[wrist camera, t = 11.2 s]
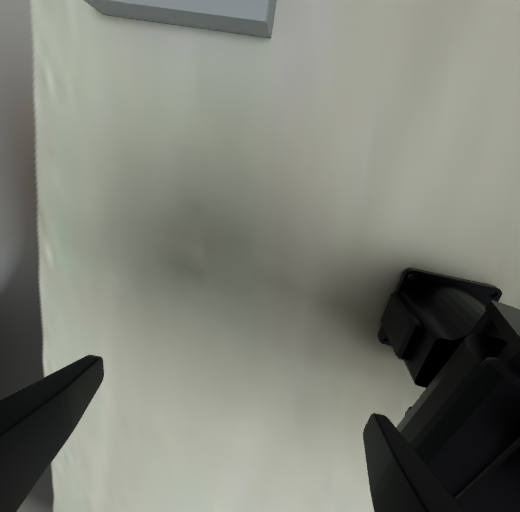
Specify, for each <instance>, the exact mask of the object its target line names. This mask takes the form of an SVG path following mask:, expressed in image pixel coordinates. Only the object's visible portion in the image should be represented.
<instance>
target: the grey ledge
mask: <svg viewBox="0 0 520 512" xmlns="http://www.w3.org/2000/svg"><path fill="white" fill-rule="evenodd" d="M84 1H85V2H87V3H88V4H90V5H91V6H92V7H94V8H95V9H96V10H98V11H99V12H101V13H102V14H104V15H111V16H118V17H125V18H132V19H140V20H147V21H154V22H161V23H168V24H175V25H182V26H189V27H197V28H204V29H211V30H218V31H225V32H232V33H239V34H246V35H254V36H261V37H268V38H271V34H272V27H273V20H274V14H275V7H276V0H84Z"/></svg>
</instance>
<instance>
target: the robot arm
mask: <svg viewBox="0 0 520 512" xmlns="http://www.w3.org/2000/svg"><path fill="white" fill-rule="evenodd" d="M410 274H414V276H413V277H411V278H408V276H409V275H410ZM493 291H494V293H493V294H492V295H489V294H490V293H491V292H493ZM501 295H502V291H501V290H500V289H498V288H497V287H495V286H492V285H488V284H483V283H478V282H474V281H469V280H464V279H459V278H455V277H450V276H445V275H441V274H436V273H431V272H427V271H422V270H417V269H412V268H409V269H406V270H405V271H404V272H403V274H402V277H401V279H400V282H399V284H398V286H397V289H396V291H395V293H393V294H391V296H390V299H389V301H388V304H387V306H386V309H385V311H384V313H383V316H382V318H381V324H382V326H381V328H380V331H379V333H378V339H379V341H380V342H381V343H382V344H386V345H390V346H392V347H393V350H394V352H395V354H396V356H397V357H398V359H401V360H404V362H405V364H406V366H407V368H408V370H409V372H410V375H411V377H412V379H413V381H414V383H415V384H416V385H418V386H422V387H425V388H426V390H425V391H424V392H423V393H422V395H421V396H420V397H419V399H418V400H417V401H416V403H415V404H414V405H413V407H409V408H408V410H407V411H406V412H405V417H404V418H403V420H402V421H401V422H400V423H399V425H398V426H397V427H395V426H394V425H393V424H392V422H391V421H390V420H389V419H388V418H387V417H386V416H384V415H380V414H376V413H373V414H371V416H370V418H369V420H368V422H367V424H366V426H365V428H364V432H363V439H364V446H365V454H366V462H367V470H368V477H369V485H370V491H371V497H372V502H373V507H374V511H375V512H520V310H519V309H516V308H514V307H511V306H508V305H505V304H502V303H499V302H498V301H499V299H500V297H501ZM384 336H387V338H383V337H384ZM103 377H104V369H103V359H102V357H99V356H94V355H88V356H85V357H83V358H81V359H80V360H78V361H76V362H74V363H72V364H70V365H68V366H66V367H64V368H62V369H60V370H58V371H56V372H54V373H52V374H50V375H48V376H47V377H45V378H43V379H41V380H39V381H37V382H35V383H33V384H31V385H29V386H27V387H25V388H23V389H21V390H19V391H18V392H15V393H14V394H12V395H10V396H8V397H6V398H4V399H2V400H0V512H16V511H17V510H18V509H19V507H20V506H21V504H22V503H23V501H24V500H25V499H26V497H27V496H28V494H29V493H30V492H31V490H32V489H33V487H34V486H35V485H36V483H37V482H38V480H39V479H40V477H41V476H42V475H43V473H44V471H45V470H46V469H47V468H48V466H49V465H50V463H51V462H52V461H53V459H54V458H55V456H56V455H57V453H58V452H59V451H60V449H61V448H62V446H63V445H64V444H65V442H66V441H67V439H68V438H69V436H70V435H71V433H72V432H73V430H74V429H75V427H76V426H77V424H78V422H79V421H80V419H81V417H82V415H83V414H84V412H85V410H86V409H87V407H88V405H89V403H90V402H91V400H92V398H93V397H94V395H95V393H96V391H97V390H98V388H99V386H100V385H101V383H102V381H103Z"/></svg>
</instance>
